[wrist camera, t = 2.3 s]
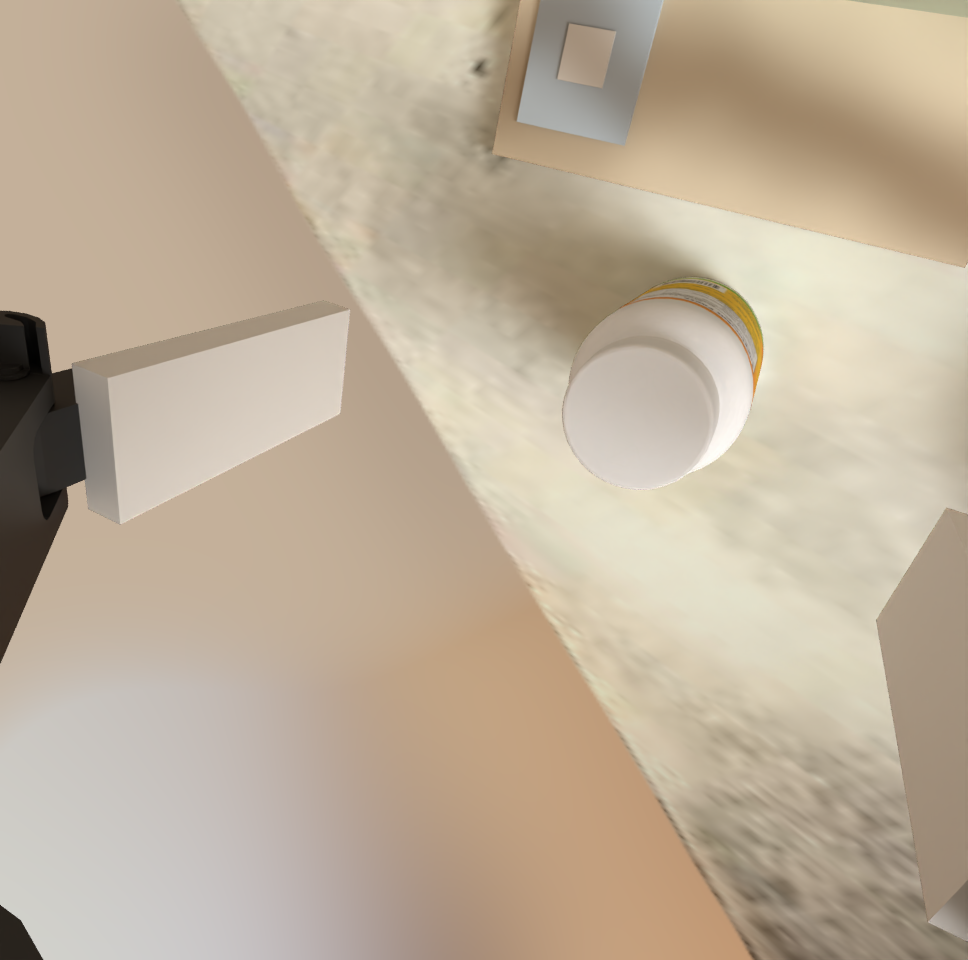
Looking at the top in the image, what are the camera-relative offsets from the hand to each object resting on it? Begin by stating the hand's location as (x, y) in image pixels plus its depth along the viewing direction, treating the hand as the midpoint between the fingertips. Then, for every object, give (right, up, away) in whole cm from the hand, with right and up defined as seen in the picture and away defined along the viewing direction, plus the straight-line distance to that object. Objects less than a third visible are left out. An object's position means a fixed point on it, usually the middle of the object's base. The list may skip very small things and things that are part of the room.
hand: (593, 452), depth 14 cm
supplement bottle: (+6, +5, +11) cm, 13 cm away
